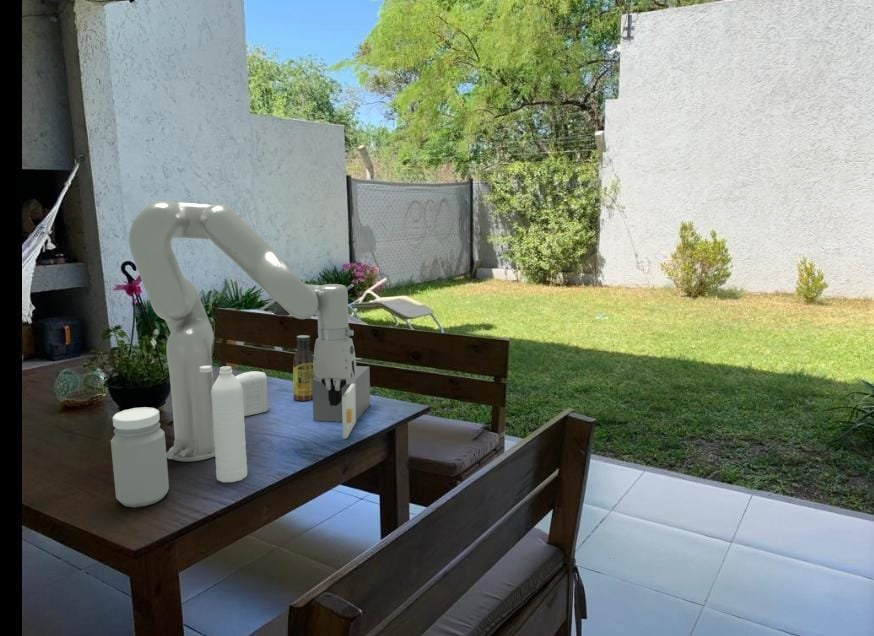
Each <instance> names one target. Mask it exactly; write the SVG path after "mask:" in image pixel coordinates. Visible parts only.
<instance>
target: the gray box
mask: <svg viewBox="0 0 874 636" xmlns="http://www.w3.org/2000/svg"><path fill="white" fill-rule="evenodd" d="M370 375H371V374H370V366H365V365H364V366H363V365H362V366H361V365H356V374H355V375H354V377H355V382H354V383H356V422H357V421H358V420H359V419H360V418H361V417H362V416H363V414H364V413H365V412H366V411H367V409H368V408H370V406H371V389H370V388H371V382H370V381H371V379H370V377H371V376H370ZM334 383H336V379H334ZM350 385H351V384H346V385H345V386H344V387H343V388H342V396H343V395H344V393H345V392H346V391H347V389H348V388H349V386H350ZM312 391H313V398H312V414H313V415H312V417H313V420H312V421H314V420H315V421H316V422H328V421H339V422H338V423H343V419H342V401H341V402H340V404H338V405H337V406H334V405H333V406H330V401H329V398H328V390H327V389H326V386H325V385H324V384H323V383H322V382H318V381H315V380H314V378H313V379H312ZM369 405H370V406H369ZM365 410H366V411H365ZM364 411H365V412H364ZM363 412H364V413H363ZM362 413H363V414H362ZM360 416H361V417H360ZM359 417H360V418H359ZM358 418H359V419H358ZM357 419H358V420H357ZM315 421H314V422H315ZM340 421H341V422H340Z"/></svg>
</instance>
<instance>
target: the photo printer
mask: <svg viewBox="0 0 874 636" xmlns="http://www.w3.org/2000/svg"><path fill="white" fill-rule="evenodd" d="M234 376H235V377H236V379H237V380H238V381H239V382H240V383H241V385H242V388H243V406H244V417H248V416H252V415H256V414H263V413H265V412H268V411H269V398H268V378H267V375H266V373H265V372H263V371H255V370H254V371H252V370H251V371H245V372H243V373H240V374H237V375H234Z"/></svg>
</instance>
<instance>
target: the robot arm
mask: <svg viewBox="0 0 874 636" xmlns="http://www.w3.org/2000/svg"><path fill="white" fill-rule="evenodd" d="M174 238H178V239H179V238H182V239H197V240H198V239H199V240H209V241H211V242H212V243H213V244H214V245H215V246H217V248H218V249H220V250H221V251H222V252H223V253H224V254H225V255H226V256H227V257H228V258H229V259H230V260H231V261H233V262H234V263H235V264H236V265H237V266H238V267H239V268H240V269H241V270H242V271H243V272H245V274H246V275H247V276H248V277H249V278H250V279H251V280H253V281H254V282H255V283H256V284H257V285H259V286H260V288H261V289H263V291H265V292H266V293H267V294H268V295H269V296H270V297H271V298H272V299H273V300H274V301H276V303H277V304H278V305H279V306H281V307H282V308H283V309H284V310H285V311H286V312H287V313H288V314H289V315H291V316H292V317H293V318H296V319H299V320H305V319H309V318H311V317H313V316H314V315H315V314H316V313H317V334H318V337H317V338H316V339H315V343H314V351H313V369H314V380H315V381H318V382H322V383H323V384H324V385H325V386H326V389H327V390H328V398H329V401H330V406H333V405H334V406H337V405H338V404H340V402H341V401H342V388H343V387H344V386H345V385H346V384H352V383H354V382H355V377H354V375H355V374H356V366H357V359H356V352H355V346H354V342H353V338H351V336H354V333H355V332H354V329H350V326H349V296H348V295H349V294H348V288H347V287H346V285H343V284H341V283H340V284H339V283H328V284H327V283H325V284H323V285H320V284H310V283H309V284H308V283H305V282H303V281H302V280H301V279H300V278H299V277H298V276H297V275H296V274H295V273H294V272H293V271H292V270H291V269H290V268H289V267H288V266H287V265H286V264H285V263H284V261H282V259H281V257H280V256H279V255H278V254H277V252H276V251H275V250H274V248H272V246H271V245H270V244H269V243H268V242H267V241H265V240H264V238H262V237H261V236H260V235H259V234H258V233H257V232H256V231H255V230H254V229H253V228H252V227H251V226H250V225H248V224H247V223H246V222H245V221H244V219H243V218H241V217H240V216H239V215H238V213H236V211H235V210H234V209H233V208H232V207H230V206H228V205H226V204H220V203H217V204H215V203H214V204H213V203H212V204H207V203H193V202H192V203H191V202H190V203H189V202H180V201H179V202H178V201H169V200H159V201H155V202H152V203H150V204H148V205H147V206H146V207H144V208H143V209H142V210H141V211H140V212H139V213H138V214H137V216H136V217H135V219H134V220H133V222H132V224H131V226H130V230H129V236H128V244H129V249H130V253H131V256H132V259H133V261H134V262H133V263H135V266H136V268H137V271H138V274H139V277H140V279H141V282H142V285H143V287H144V289H145V292H146V294H147V295H146V296H147V297H148V299H149V303H150V306H151V308H152V310H153V312H154V313H155V314H156V316H158V317H159V318H160V319H163V320H164V321H165V322H166V323H165V324H166V326H167V327H168V330H169V332H170V334H169V336H168V337H167V342H166V352H165V353H166V359H167V366H168V373H169V381H170V394H171V404H172V418H173V431H174V440H173V445H172V446H171V447H170V448H169V450H168V451H166V456H167V459H168V460H173V461H177V462H186V463H189V462H197V461H198V462H199V461H203V460H208V459H211V458H214V457H215V446H214V444H215V442H214V431H213V411H212V409H213V408H212V398H211V389H212V386H213V384H214V383H215V380H214V374H213V373H214V371H213V368H212V371H211V372H200V367H201V366H212V367H213V358H212V347H213V343H214V335H215V334H214V330H213V328H212V325H211V322H210V320H209V317H208V314H207V312H206V309H205V308H204V305H203V302H202V300H201V298H200V294H199V293H198V290H197V289H196V287H195V285H194V284H193V283H192V282H191V281H190V280H188V279H187V278H185V277H184V275H183V273H182V271H181V268H180V266H179V262H178V259H177V258H176V254H174V251H173V249H172V240H173V239H174ZM209 371H210V370H209ZM334 379H336V383H334Z"/></svg>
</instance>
